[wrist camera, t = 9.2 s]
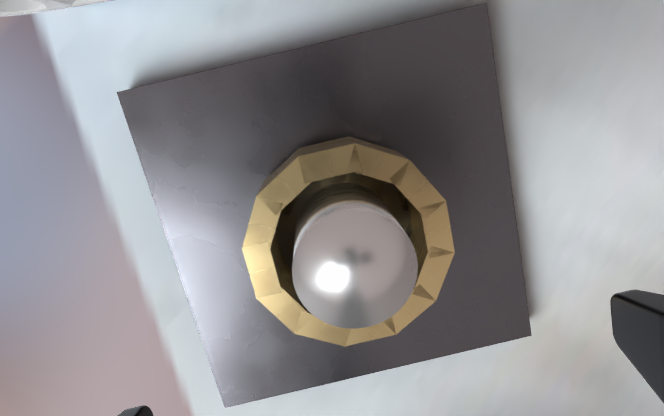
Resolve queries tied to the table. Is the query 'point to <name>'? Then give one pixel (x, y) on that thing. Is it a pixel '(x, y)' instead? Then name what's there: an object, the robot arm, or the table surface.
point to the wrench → (39, 6)
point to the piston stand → (337, 199)
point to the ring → (331, 161)
